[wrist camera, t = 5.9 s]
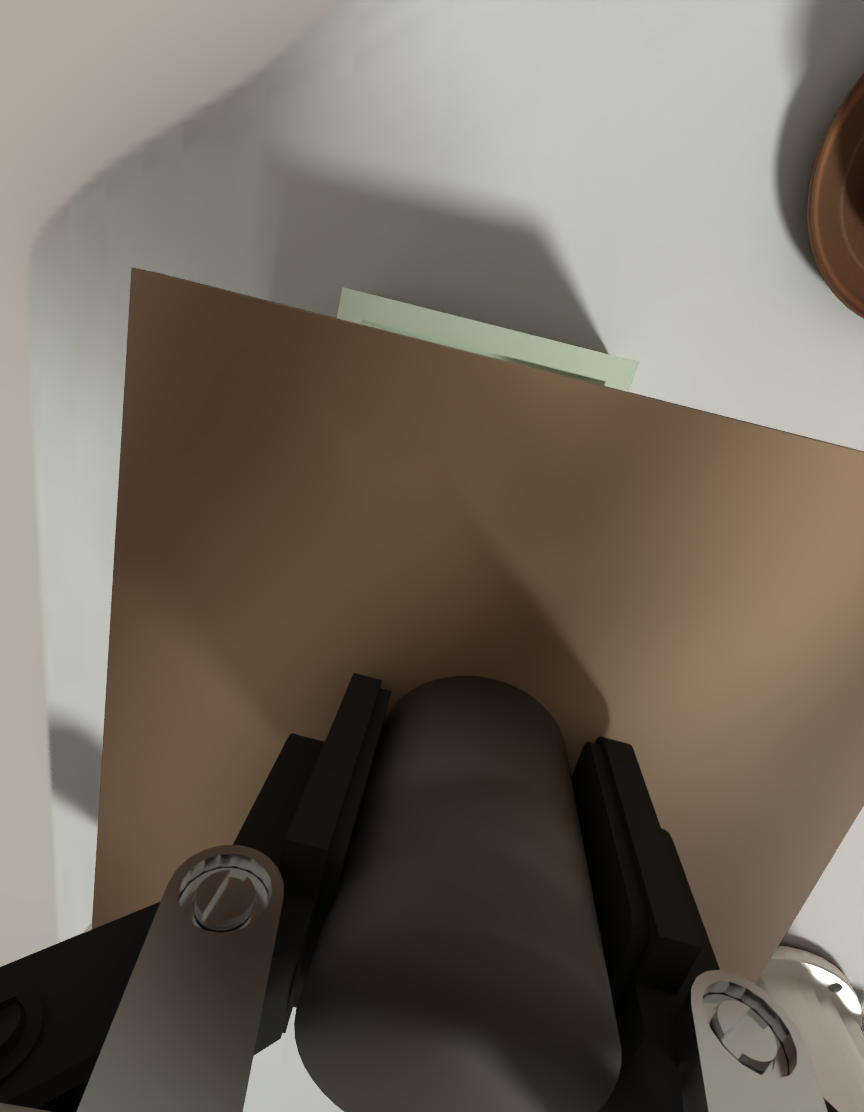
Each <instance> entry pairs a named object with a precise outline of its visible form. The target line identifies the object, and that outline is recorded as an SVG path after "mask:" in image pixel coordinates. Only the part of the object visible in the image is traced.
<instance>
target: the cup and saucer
mask: <svg viewBox="0 0 864 1112" xmlns="http://www.w3.org/2000/svg"><path fill="white" fill-rule="evenodd" d="M807 222H808V232H809V240H810V244H811V248H812V253H813V256H814V258H815V261H816V264H817V267H818V269H819V271H820V273H821V275H822V277H823V279H824V280H825V282H826V283H827V285H828V287H829V288H830V289H831V291H832V292H833V293H834V294H835V296H836V297H837V298H838V299H839V300H840V301H841V302H842V303H843V304H844V305H845V306H846V307H847V308H849V309H850V310H851V311H853V312H854V313H856V314H857V315H858V316H860V317H862V318H864V74H863V75H862V76H861V78H860V79H859V80H858V81H857V83H856V84H855V85H854V87H853V88H852V89H851V91H850V92H849V94H848V95H847V96H846V98H845V99H844V101H843V102H842V104H841V106H840V107H839V109H838V111H837V112H836V114H835V116H834V118H833V119H832V121H831V123H830V125H829V127H828V129H827V131H826V134H825V136H824V138H823V141H822V143H821V145H820V148H819V151H818V154H817V157H816V160H815V163H814V167H813V171H812V175H811V180H810V186H809V193H808V205H807Z"/></svg>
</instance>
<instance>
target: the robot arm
mask: <svg viewBox="0 0 864 1112" xmlns="http://www.w3.org/2000/svg"><path fill="white" fill-rule="evenodd" d="M381 685H382V680H379V679H376V678H372V677H368V676H364V675H360V674H356V673H353V676H352V678H351V680H350V683H349V685H348V687H347V690H346V692H345V695H344V697H343V699H342V702H341V704H340V707H339V709H338V712H337V714H336V716H335V719H334V721H333V724H332V726H331V728H330V731H329V733H328V736H327V738H326V740H325V742H324V741H320V740H317V739H313V738H309V737H305V736H301V735H297V734H293V733H291V734H290V735H289V737H288V738H287V740H286V742H285V744H284V746H283V748H282V750H281V752H280V754H279V756H278V757H277V759H276V761H275V763H274V765H273V767H272V769H271V771H270V773H269V775H268V777H267V779H266V781H265V783H264V785H263V787H262V789H261V791H260V793H259V794H258V796H257V798H256V800H255V802H254V804H253V806H252V808H251V810H250V812H249V814H248V816H247V818H246V820H245V822H244V824H243V826H242V828H241V830H240V831H239V833H238V835H237V837H236V839H235V841H234V843H233V845H221V846H217V847H212V848H208V849H205V850H203V851H201V852H199V853H197V854H195V855H193V856H191V857H189V858H188V859H187V860H186V861H185V862H184V863H183V864H182V865H181V866H179V867H178V868H177V869H176V871H175V873H174V874H173V876H172V878H171V879H170V881H169V882H168V884H167V887H166V889H165V892H164V894H163V897H162V899H161V901H160V902H158V903H155V904H153V905H150V906H148V907H146V908H143V909H141V910H138V911H136V912H133V913H131V914H128V915H126V916H124V917H121V918H119V919H116V920H114V921H111V922H109V923H107V924H104V925H102V926H99V927H97V928H94V929H92V930H90V931H87V932H85V933H82V934H80V935H77V936H75V937H73V938H70V939H68V940H65V941H63V942H60V943H58V944H55V945H53V946H51V947H48V948H46V949H43V950H41V951H38V952H36V953H34V954H31V955H29V956H26V957H24V958H21V959H19V960H17V961H14V962H12V963H9V964H7V965H4V966H2V967H0V1112H243V1107H244V1102H245V1097H246V1091H247V1086H248V1081H249V1076H250V1070H251V1065H252V1060H253V1056H254V1055H255V1054H257V1053H258V1052H260V1051H261V1050H263V1049H265V1048H266V1047H268V1046H269V1045H271V1044H273V1043H274V1042H276V1041H277V1040H279V1039H280V1038H281V1035H282V1033H285V1032H286V1029H287V1025H288V1022H289V1018H290V1015H291V1012H292V1008H293V1007H296V1008H297V1005H298V1002H299V999H300V995H301V992H302V988H303V985H304V981H305V978H306V975H307V971H308V968H309V964H310V961H311V957H312V954H313V951H314V947H315V944H316V940H317V937H318V934H319V931H320V928H321V925H322V923H323V922H324V920H325V918H326V916H327V914H328V913H329V911H330V910H331V909H332V905H333V902H334V898H335V895H336V891H337V888H338V884H339V880H340V877H341V873H342V870H343V866H344V863H345V859H346V856H347V852H348V848H349V845H350V841H351V838H352V834H353V831H354V827H355V824H356V820H357V816H358V813H359V809H360V806H361V802H362V799H363V795H364V792H365V788H366V784H367V781H368V777H369V774H370V770H371V767H372V763H373V760H374V756H375V752H376V749H377V745H378V742H379V738H380V735H381V731H382V728H383V724H384V720H385V716H386V712H387V708H388V704H389V700H390V696H391V691H390V690H386V689H382V688H381ZM571 778H572V784H573V789H574V795H575V800H576V805H577V811H578V816H579V822H580V827H581V833H582V838H583V843H584V849H585V854H586V860H587V865H588V870H589V876H590V881H591V887H592V892H593V898H594V903H595V908H596V914H597V919H598V925H599V930H600V936H601V941H602V946H603V952H604V957H605V963H606V968H607V974H608V979H609V984H610V990H611V995H612V1001H613V1006H614V1012H615V1017H616V1022H617V1028H618V1033H619V1039H620V1044H621V1068H620V1072H619V1077H618V1080H617V1082H616V1085H615V1087H614V1090H613V1092H612V1093H611V1095H610V1097H609V1098H608V1100H607V1101H606V1103H605V1104H604V1105H603V1106H602V1108H601V1109H600V1110H599V1111H598V1112H864V1035H863V1033H862V1031H861V1025H862V1020H863V1016H862V1007H861V1004H860V1002H859V999H858V997H857V994H856V993H855V991H854V989H853V988H852V986H851V984H850V983H849V981H848V979H847V978H846V976H845V975H844V974H843V973H842V972H841V971H840V970H839V969H838V968H837V967H836V966H834V965H833V964H831V963H830V962H828V961H827V960H825V959H824V958H822V957H819V956H817V955H815V954H812V953H810V952H808V951H804V950H800V949H796V948H792V947H788V946H778V948H777V949H776V951H775V952H774V954H773V956H772V957H771V959H770V961H769V962H768V964H767V966H766V967H765V969H764V971H763V972H762V974H761V976H760V977H759V979H758V981H757V982H756V984H754V983H753V982H751V981H749V980H747V979H745V978H743V977H741V976H739V975H737V974H734V973H730V972H726V971H722V970H720V968H719V965H718V963H717V960H716V957H715V954H714V952H713V949H712V946H711V943H710V941H709V938H708V935H707V932H706V930H705V927H704V924H703V921H702V919H701V916H700V913H699V910H698V908H697V905H696V902H695V899H694V897H693V894H692V891H691V888H690V886H689V883H688V880H687V877H686V875H685V872H684V869H683V866H682V864H681V861H680V858H679V855H678V853H677V850H676V847H675V844H674V842H673V839H672V837H671V836H670V834H669V832H667V831H666V830H665V829H661V827H660V824H659V821H658V818H657V815H656V812H655V809H654V806H653V804H652V801H651V798H650V795H649V792H648V789H647V786H646V783H645V781H644V778H643V775H642V772H641V769H640V766H639V763H638V761H637V758H636V755H635V752H634V749H633V747H632V745H630V744H628V743H624V742H621V741H617V740H613V739H609V738H605V737H601V736H600V737H598V738H597V739H596V741H595V743H592V742H586V743H585V744H584V746H583V749H582V751H581V754H580V756H579V759H578V761H577V764H576V767H575V769H574V772H573V774H572V777H571Z"/></svg>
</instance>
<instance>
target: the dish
mask: <svg viewBox="0 0 864 1112" xmlns="http://www.w3.org/2000/svg"><path fill="white" fill-rule="evenodd" d="M337 318H338V319H342V320H346V321H350V322H354V323H358V324H362V325H366V326H370V327H374V328H378V329H381V330H385V331H389V332H393V333H397V334H401V335H405V336H409V337H413V338H417V339H421V340H425V341H429V342H433V343H437V344H441V345H445V346H449V347H453V348H457V349H460V350H464V351H468V352H472V353H476V354H480V355H484V356H488V357H492V358H496V359H500V360H504V361H508V362H512V363H516V364H520V365H524V366H528V367H532V368H536V369H540V370H543V371H547V372H551V373H555V374H559V375H563V376H567V377H571V378H575V379H579V380H583V381H587V382H591V383H595V384H599V385H603V386H607V387H611V388H615V389H619V390H623V391H626V392H629V390H630V387H631V384H632V381H633V378H634V375H635V372H636V369H637V366H638V363H639V362H637V361H633V360H629V359H625V358H621V357H617V356H613V355H609V354H605V353H601V352H597V351H593V350H590V349H586V348H582V347H578V346H574V345H570V344H566V343H562V342H558V341H554V340H550V339H546V338H542V337H538V336H534V335H530V334H526V333H522V332H518V331H514V330H510V329H507V328H503V327H499V326H495V325H491V324H487V323H483V322H479V321H475V320H471V319H467V318H463V317H459V316H455V315H451V314H447V313H443V312H439V311H435V310H431V309H428V308H424V307H420V306H416V305H412V304H408V303H404V302H400V301H396V300H392V299H388V298H384V297H380V296H376V295H372V294H368V293H364V292H360V291H356V290H352V289H348V288H345V287H342V290H341V296H340V301H339V307H338V313H337Z"/></svg>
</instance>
